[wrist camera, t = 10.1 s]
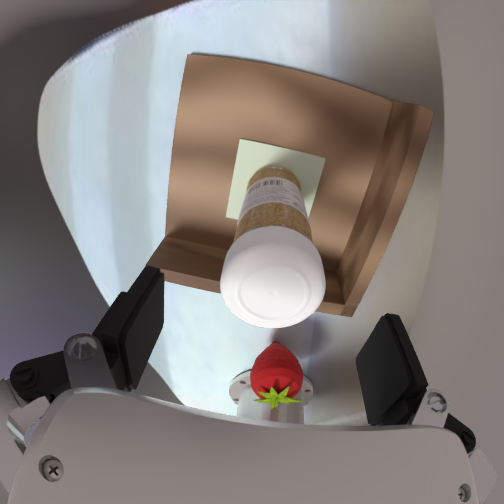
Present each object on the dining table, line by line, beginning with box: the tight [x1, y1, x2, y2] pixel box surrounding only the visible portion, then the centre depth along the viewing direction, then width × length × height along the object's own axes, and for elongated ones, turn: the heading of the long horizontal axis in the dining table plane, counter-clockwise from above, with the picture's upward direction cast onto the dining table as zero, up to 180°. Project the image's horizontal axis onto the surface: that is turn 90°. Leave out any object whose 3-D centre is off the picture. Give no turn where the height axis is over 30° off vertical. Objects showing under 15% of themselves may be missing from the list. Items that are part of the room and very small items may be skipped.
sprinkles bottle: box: [220, 166, 326, 328], centre depth 18 cm, size 5×5×14 cm
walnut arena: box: [146, 54, 434, 317], centre depth 21 cm, size 18×18×6 cm
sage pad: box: [226, 139, 326, 220], centre depth 23 cm, size 7×7×1 cm
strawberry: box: [250, 342, 303, 416], centre depth 30 cm, size 6×8×10 cm
